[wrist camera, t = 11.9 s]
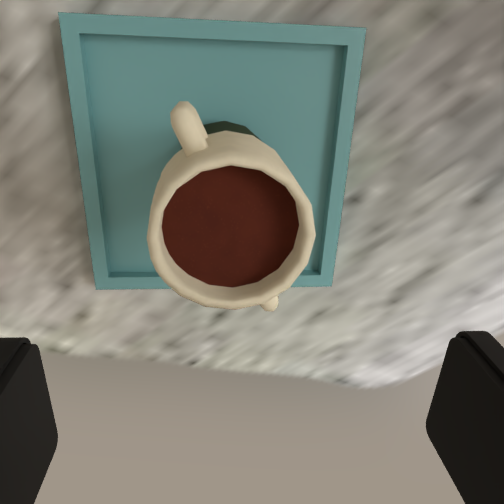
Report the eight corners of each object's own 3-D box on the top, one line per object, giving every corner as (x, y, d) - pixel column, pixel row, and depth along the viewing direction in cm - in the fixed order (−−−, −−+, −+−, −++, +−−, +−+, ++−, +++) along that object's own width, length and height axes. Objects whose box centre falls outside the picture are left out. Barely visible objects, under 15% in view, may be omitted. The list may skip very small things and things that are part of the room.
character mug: (137, 111, 27) (83, 153, 15) (238, 65, 27) (262, 70, 15) (209, 250, 32) (210, 363, 20) (297, 213, 31) (350, 307, 19)
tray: (358, 29, 27) (366, 27, 25) (326, 277, 34) (331, 286, 33) (66, 14, 25) (58, 12, 24) (100, 279, 33) (95, 289, 31)
